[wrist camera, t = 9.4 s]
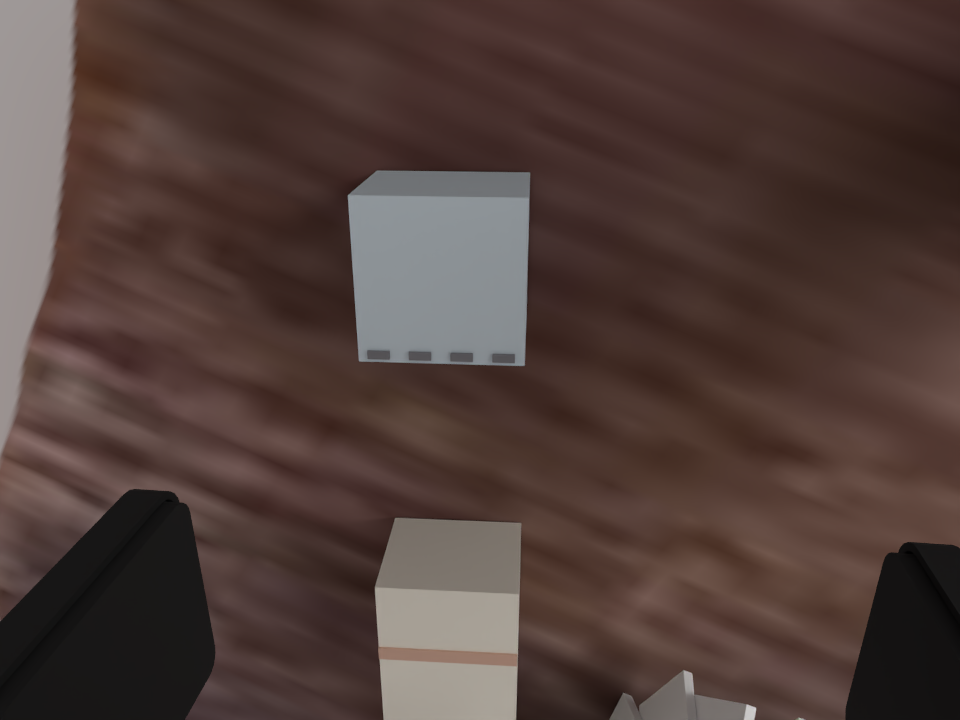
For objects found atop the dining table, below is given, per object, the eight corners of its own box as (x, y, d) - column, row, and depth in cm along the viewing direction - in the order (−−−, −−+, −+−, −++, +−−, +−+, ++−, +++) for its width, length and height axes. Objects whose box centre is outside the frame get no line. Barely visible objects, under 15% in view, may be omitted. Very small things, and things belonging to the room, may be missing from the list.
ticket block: (521, 522, 36) (518, 596, 31) (515, 764, 42) (512, 855, 38) (395, 517, 36) (374, 589, 32) (407, 757, 43) (391, 846, 38)
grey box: (530, 172, 30) (528, 198, 25) (526, 318, 32) (524, 367, 27) (376, 170, 30) (346, 195, 25) (384, 315, 32) (358, 362, 28)
